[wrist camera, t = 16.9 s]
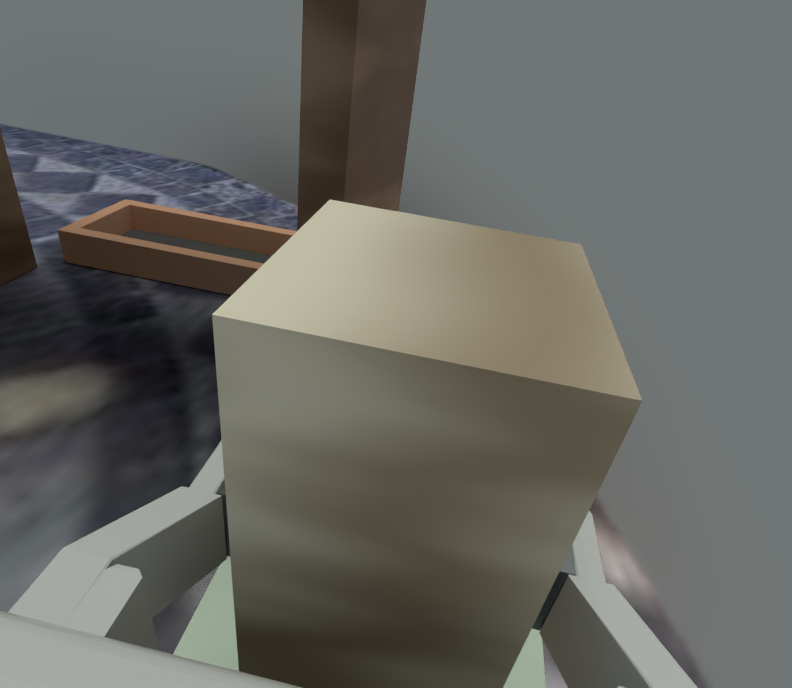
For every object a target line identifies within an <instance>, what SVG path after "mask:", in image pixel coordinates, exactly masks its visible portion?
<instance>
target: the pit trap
mask: <svg viewBox="0 0 792 688" xmlns="http://www.w3.org/2000/svg"><path fill="white" fill-rule="evenodd" d="M296 232H297V231H292V230H287V229H281V228H276V227H271V226H265V225H260V224H255V223H249V222H244V221H239V220H233V219H228V218H223V217H217V216H212V215H207V214H201V213H196V212H191V211H185V210H180V209H175V208H169V207H164V206H159V205H153V204H148V203H143V202H137V201H132V200H127V199H125V200H123V201H120V202H118V203H116V204H114V205H112V206H109V207H107V208H105V209H103V210H101V211H98V212H96V213H94V214H92V215H89V216H87V217H85V218H83V219H81V220H78V221H76V222H74V223H72V224H69V225H67V226H65V227H63V228H61V229H58V235H59V239H60V243H61V247H62V252H63V256H64V260H65V262H68V263H73V264H78V265H83V266H88V267H93V268H98V269H103V270H108V271H113V272H118V273H123V274H128V275H133V276H138V277H143V278H148V279H153V280H158V281H163V282H168V283H173V284H178V285H183V286H188V287H193V288H198V289H203V290H208V291H213V292H218V293H223V294H228V295H233V294H234V293H235V292H236V291H237V290H238V289H239V288H240V287H241V286H242V285H243V284H244V283H245V282H246V281H247V280H248V279H249V278H250V277H251V276H252V275H253V274H254V273H255V272H256V271H257V270H258V269H259V268H260V267H261V266H262V265H263V264H264V263H265V262H266V261H267V260H268V259H269V258H270V257H271V256H272V255H273V254H275V253H276V252H277V251H278V250H279V249H280V248H281V247H282V246H283V245H284V244H285V243H286V242H287V241H288V240H289V239H290V238H291V237H292V236H293V235H294V234H295V233H296Z"/></svg>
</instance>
